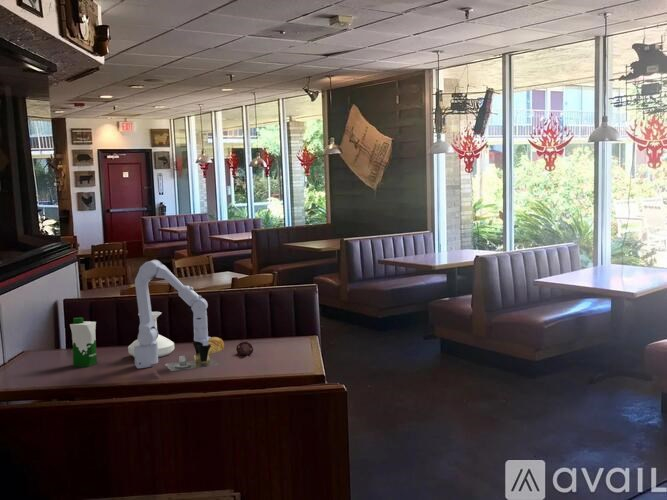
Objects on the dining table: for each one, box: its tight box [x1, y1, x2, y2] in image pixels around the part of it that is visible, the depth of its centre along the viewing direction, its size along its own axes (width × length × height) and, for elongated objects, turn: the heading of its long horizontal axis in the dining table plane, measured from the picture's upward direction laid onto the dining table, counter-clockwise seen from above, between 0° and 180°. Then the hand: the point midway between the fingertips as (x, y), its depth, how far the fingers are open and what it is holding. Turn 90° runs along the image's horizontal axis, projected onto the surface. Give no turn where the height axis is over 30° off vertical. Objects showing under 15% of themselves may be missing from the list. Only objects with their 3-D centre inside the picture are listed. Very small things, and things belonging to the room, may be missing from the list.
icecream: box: [235, 341, 254, 357], centre depth 297 cm, size 7×7×15 cm
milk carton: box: [69, 316, 98, 368], centre depth 289 cm, size 9×9×20 cm
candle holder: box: [127, 311, 175, 358], centre depth 302 cm, size 20×20×19 cm
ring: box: [193, 353, 210, 363], centre depth 285 cm, size 6×6×3 cm
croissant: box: [208, 336, 225, 355], centre depth 308 cm, size 21×10×8 cm, turn 178°
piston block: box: [164, 355, 221, 372], centre depth 280 cm, size 20×14×5 cm
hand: (202, 359), depth 285 cm, fingers open, 6 cm apart
